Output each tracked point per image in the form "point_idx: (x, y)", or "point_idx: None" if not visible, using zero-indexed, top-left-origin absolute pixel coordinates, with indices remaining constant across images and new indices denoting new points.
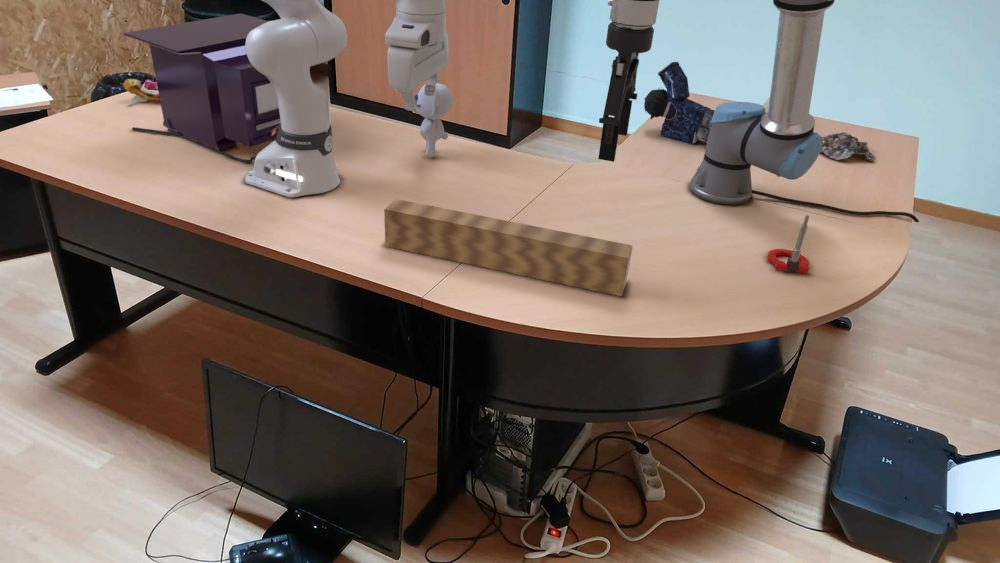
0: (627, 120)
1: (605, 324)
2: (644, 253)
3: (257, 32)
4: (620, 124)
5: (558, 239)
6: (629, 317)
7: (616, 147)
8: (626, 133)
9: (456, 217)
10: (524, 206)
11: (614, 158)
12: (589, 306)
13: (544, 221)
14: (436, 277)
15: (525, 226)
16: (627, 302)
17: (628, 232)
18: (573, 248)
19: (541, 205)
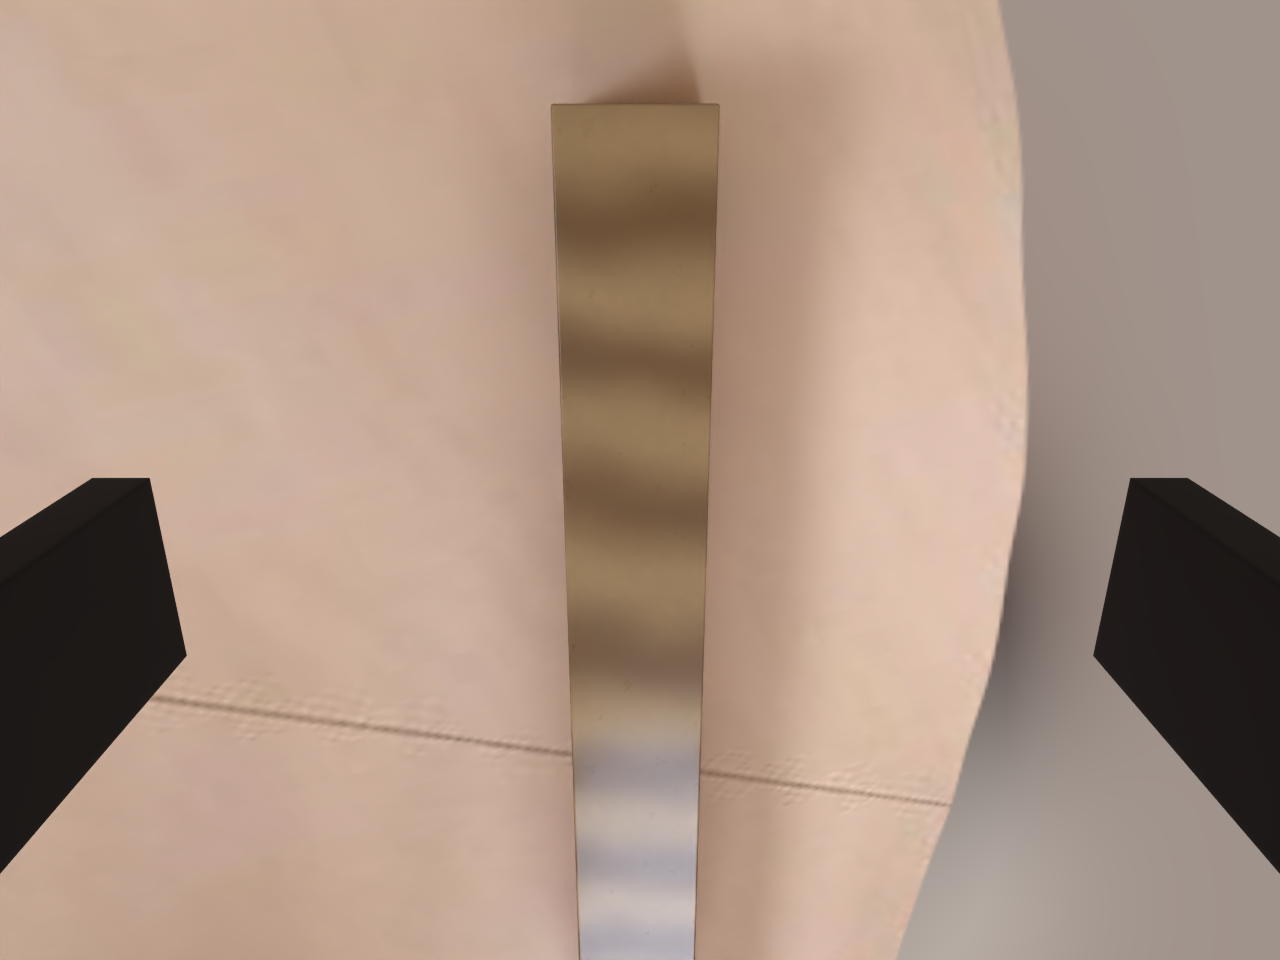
0: (10, 602)
1: (952, 141)
2: (220, 60)
3: None
4: (86, 649)
5: (659, 509)
6: (864, 39)
7: (1241, 556)
8: (130, 493)
9: (640, 937)
10: None
11: (1187, 492)
12: (830, 240)
13: (185, 587)
14: (818, 809)
15: (593, 678)
16: (738, 71)
17: (41, 185)
18: (710, 419)
19: None
